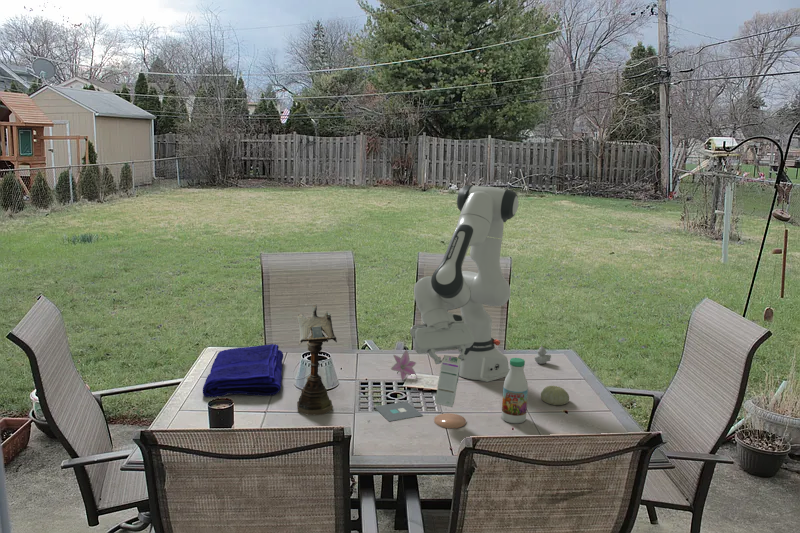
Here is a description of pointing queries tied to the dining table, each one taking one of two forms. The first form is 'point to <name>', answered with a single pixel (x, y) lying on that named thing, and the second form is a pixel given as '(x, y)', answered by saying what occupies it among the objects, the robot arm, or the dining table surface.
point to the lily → (404, 365)
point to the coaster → (450, 420)
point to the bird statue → (315, 362)
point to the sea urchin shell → (554, 395)
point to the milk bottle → (515, 393)
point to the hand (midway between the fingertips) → (450, 361)
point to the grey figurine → (542, 356)
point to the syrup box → (448, 381)
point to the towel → (246, 372)
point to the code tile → (398, 411)
